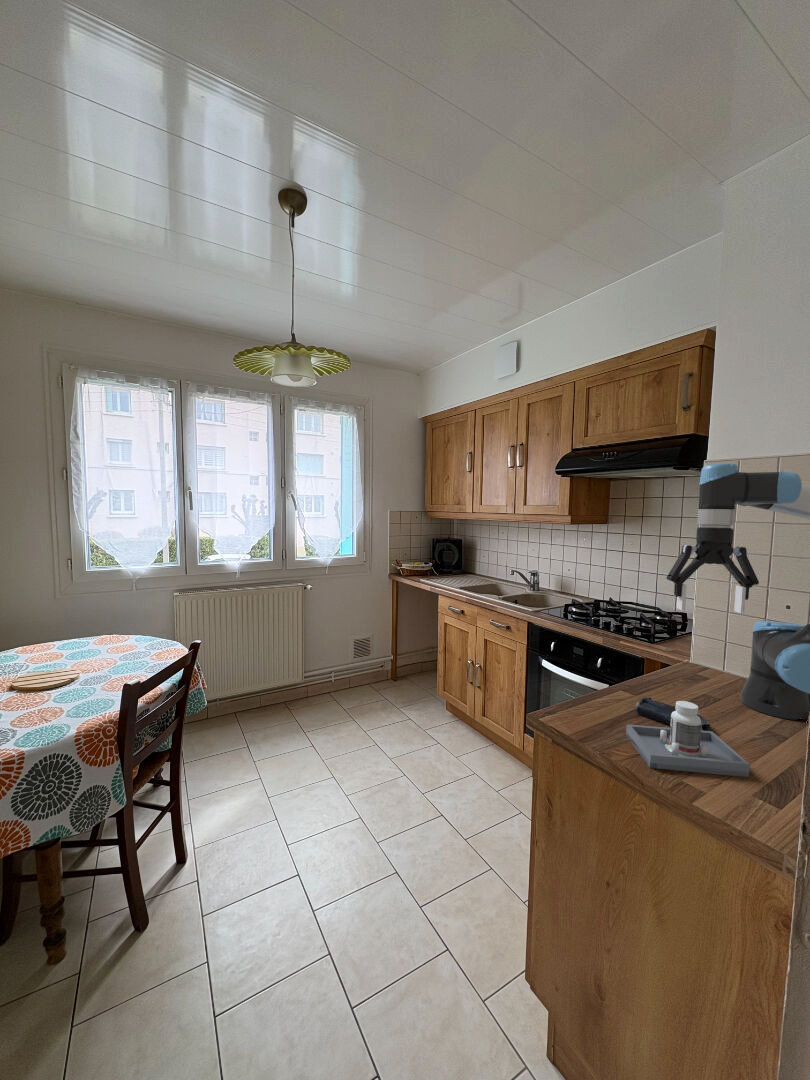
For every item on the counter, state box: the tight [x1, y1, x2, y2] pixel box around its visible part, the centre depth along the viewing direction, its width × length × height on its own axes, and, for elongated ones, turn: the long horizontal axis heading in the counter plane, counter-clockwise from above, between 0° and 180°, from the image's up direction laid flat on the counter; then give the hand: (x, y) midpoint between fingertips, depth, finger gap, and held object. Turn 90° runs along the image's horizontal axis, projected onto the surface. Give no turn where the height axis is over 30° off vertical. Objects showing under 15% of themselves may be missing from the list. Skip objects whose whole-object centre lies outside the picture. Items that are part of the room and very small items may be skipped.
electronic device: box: [634, 696, 711, 731], centre depth 108 cm, size 9×6×15 cm
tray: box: [625, 724, 751, 778], centre depth 92 cm, size 18×13×4 cm
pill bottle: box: [669, 700, 701, 756], centre depth 92 cm, size 5×5×10 cm
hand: (709, 611), depth 111 cm, fingers open, 13 cm apart
